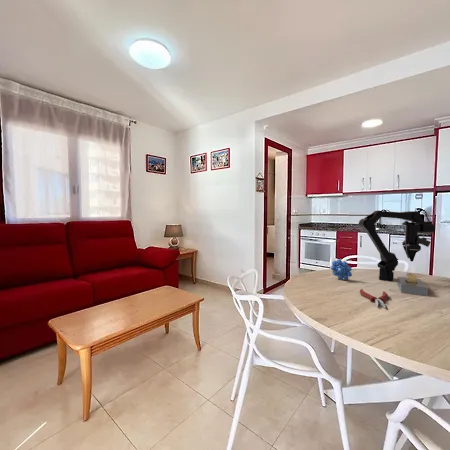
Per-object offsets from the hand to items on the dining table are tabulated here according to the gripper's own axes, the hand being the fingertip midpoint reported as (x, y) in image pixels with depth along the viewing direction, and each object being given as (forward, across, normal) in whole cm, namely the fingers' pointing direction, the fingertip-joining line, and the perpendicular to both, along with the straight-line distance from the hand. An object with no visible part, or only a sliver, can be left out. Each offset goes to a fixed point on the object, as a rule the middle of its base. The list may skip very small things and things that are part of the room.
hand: (410, 259), depth 140 cm
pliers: (+13, -46, +20) cm, 51 cm away
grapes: (+12, -19, +35) cm, 42 cm away
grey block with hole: (+12, -20, +2) cm, 23 cm away
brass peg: (+12, -20, +2) cm, 23 cm away
